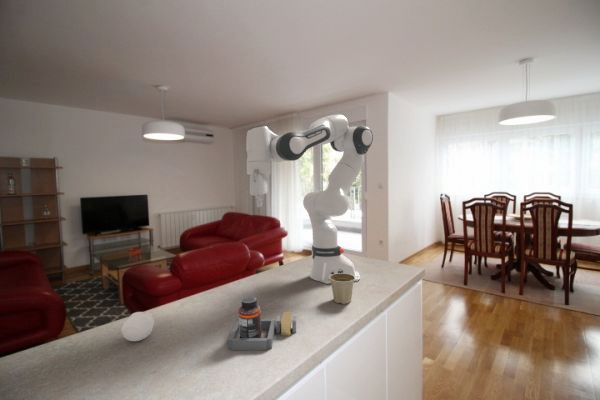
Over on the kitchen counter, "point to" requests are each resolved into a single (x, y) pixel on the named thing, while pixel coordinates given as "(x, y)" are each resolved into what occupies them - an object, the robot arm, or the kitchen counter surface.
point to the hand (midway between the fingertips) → (259, 206)
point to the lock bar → (286, 324)
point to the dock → (257, 343)
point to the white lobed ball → (138, 326)
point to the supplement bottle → (250, 318)
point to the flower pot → (342, 287)
